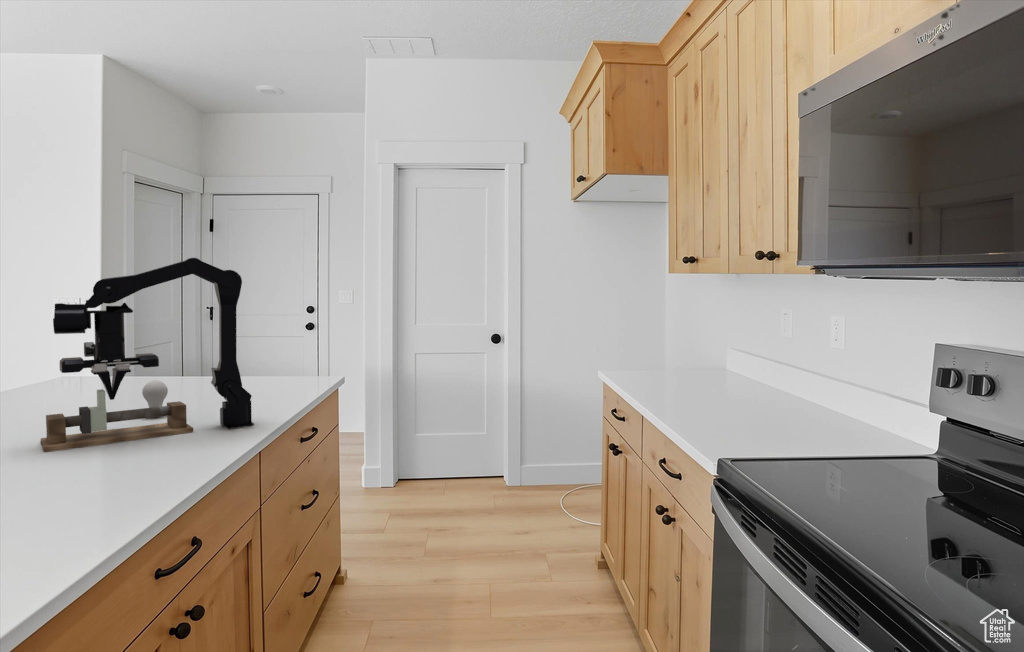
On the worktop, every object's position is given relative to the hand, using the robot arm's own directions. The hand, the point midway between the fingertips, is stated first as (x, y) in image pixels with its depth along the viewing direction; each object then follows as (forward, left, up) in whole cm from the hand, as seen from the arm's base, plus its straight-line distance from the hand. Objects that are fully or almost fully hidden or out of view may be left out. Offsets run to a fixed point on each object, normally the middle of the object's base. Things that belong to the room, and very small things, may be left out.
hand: (111, 399), depth 141 cm
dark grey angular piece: (+5, 0, -7) cm, 9 cm away
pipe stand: (-1, 0, -9) cm, 9 cm away
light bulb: (-12, -19, -9) cm, 25 cm away
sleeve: (+3, 0, -7) cm, 7 cm away
